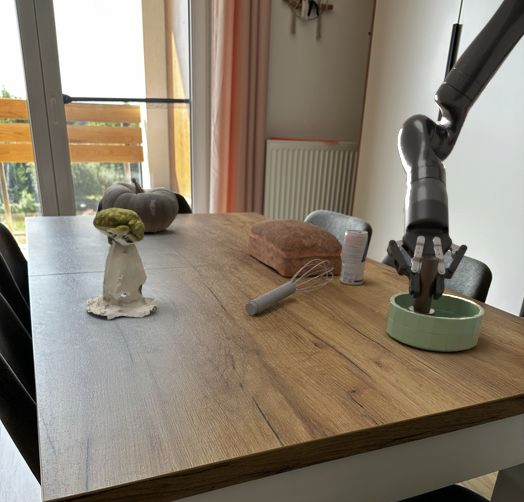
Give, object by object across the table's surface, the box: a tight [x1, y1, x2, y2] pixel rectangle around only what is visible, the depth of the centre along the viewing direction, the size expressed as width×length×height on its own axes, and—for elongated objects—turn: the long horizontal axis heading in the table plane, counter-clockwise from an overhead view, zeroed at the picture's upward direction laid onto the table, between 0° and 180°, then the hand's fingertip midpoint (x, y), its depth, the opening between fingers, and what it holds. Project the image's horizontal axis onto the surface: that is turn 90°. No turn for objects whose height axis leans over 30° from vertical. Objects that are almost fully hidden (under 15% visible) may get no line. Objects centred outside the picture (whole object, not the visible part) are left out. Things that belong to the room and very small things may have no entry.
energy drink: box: [339, 229, 369, 286], centre depth 120 cm, size 5×5×12 cm
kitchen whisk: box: [242, 259, 334, 318], centre depth 106 cm, size 6×34×6 cm, turn 147°
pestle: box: [408, 256, 439, 316], centre depth 87 cm, size 4×4×12 cm
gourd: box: [101, 177, 180, 233], centre depth 172 cm, size 25×25×17 cm
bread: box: [246, 218, 343, 278], centre depth 136 cm, size 17×29×11 cm, turn 20°
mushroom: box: [85, 208, 158, 320], centre depth 93 cm, size 12×13×18 cm
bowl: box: [385, 291, 486, 353], centre depth 89 cm, size 15×15×6 cm
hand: (426, 296), depth 85 cm, fingers closed on pestle, 3 cm apart
